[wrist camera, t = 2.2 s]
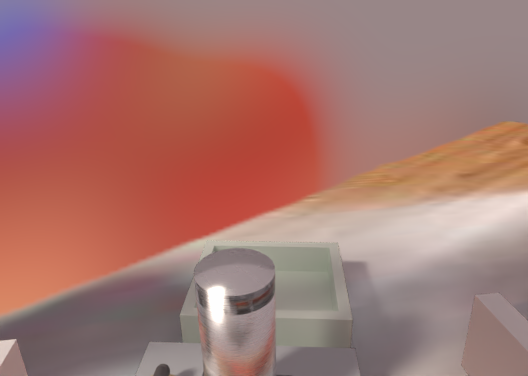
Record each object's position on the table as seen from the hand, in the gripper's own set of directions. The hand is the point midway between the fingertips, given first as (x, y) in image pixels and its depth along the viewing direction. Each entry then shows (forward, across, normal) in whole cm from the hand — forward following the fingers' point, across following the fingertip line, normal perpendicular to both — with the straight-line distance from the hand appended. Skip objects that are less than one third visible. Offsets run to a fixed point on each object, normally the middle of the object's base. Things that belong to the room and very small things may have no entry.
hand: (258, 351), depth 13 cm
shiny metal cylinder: (+10, 0, -18) cm, 21 cm away
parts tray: (+24, +3, -18) cm, 30 cm away
